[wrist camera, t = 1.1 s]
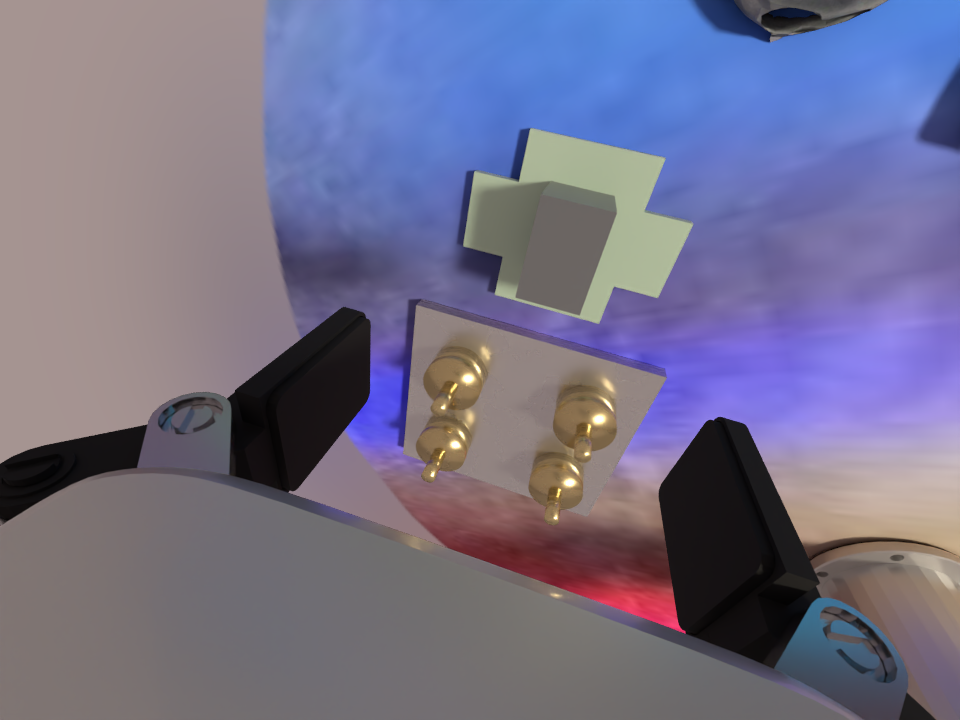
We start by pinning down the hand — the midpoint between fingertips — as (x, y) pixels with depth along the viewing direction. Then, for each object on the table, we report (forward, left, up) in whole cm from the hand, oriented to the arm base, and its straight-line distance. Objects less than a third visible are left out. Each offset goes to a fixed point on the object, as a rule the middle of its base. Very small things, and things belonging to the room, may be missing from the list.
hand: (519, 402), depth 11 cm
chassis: (0, +17, -19) cm, 26 cm away
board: (0, 0, -19) cm, 19 cm away
